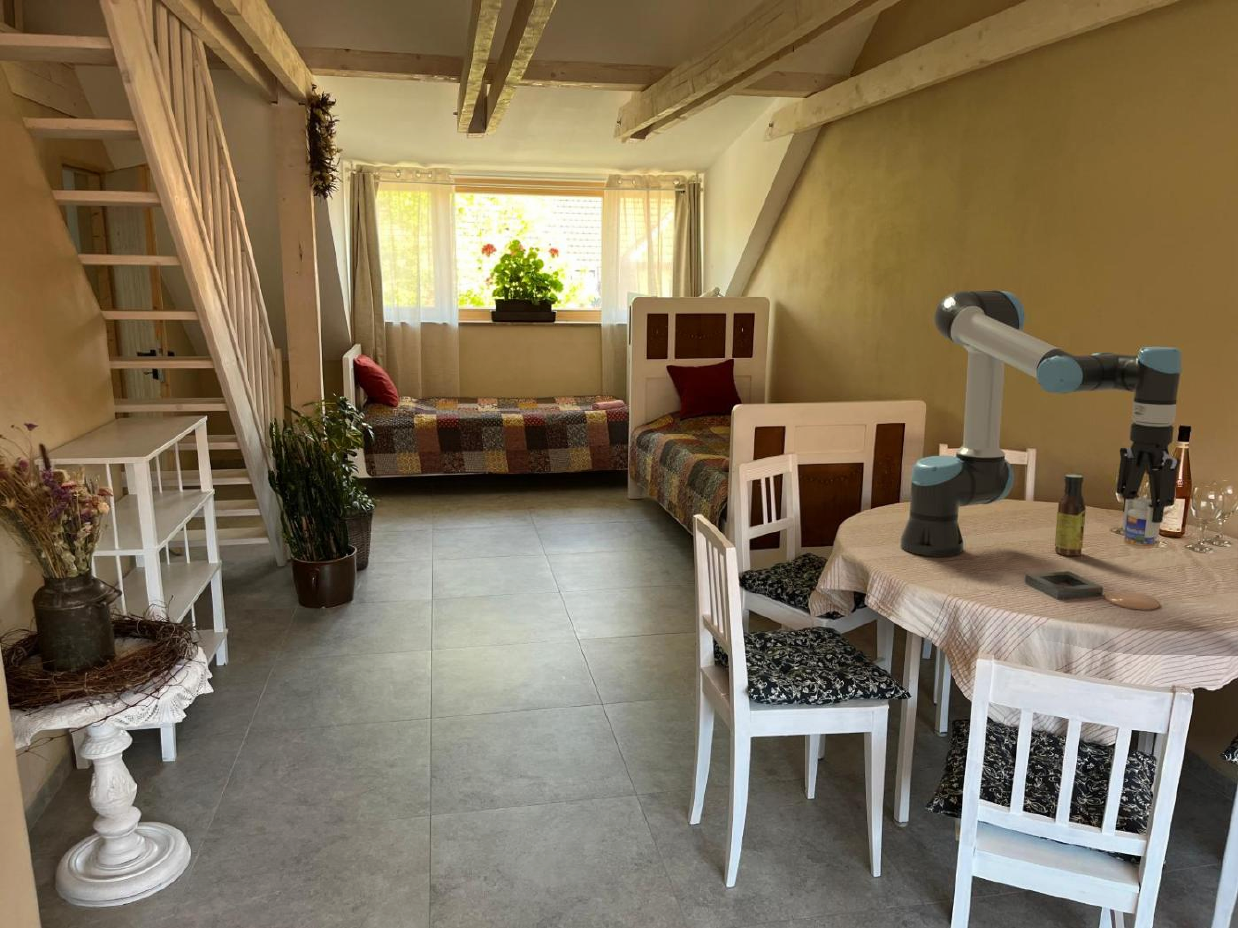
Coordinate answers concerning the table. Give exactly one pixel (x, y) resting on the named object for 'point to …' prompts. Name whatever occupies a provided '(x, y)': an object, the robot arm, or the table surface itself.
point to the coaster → (1132, 600)
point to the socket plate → (1076, 590)
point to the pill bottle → (1138, 525)
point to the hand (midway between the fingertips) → (1140, 532)
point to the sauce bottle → (1070, 518)
